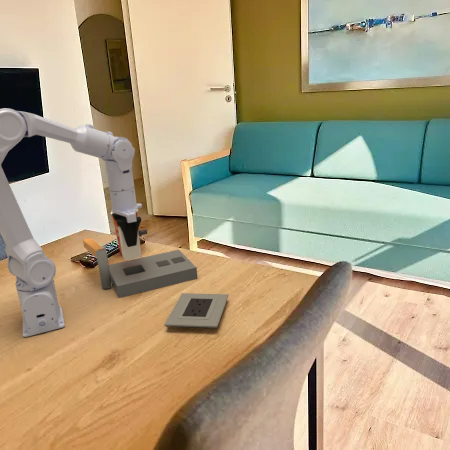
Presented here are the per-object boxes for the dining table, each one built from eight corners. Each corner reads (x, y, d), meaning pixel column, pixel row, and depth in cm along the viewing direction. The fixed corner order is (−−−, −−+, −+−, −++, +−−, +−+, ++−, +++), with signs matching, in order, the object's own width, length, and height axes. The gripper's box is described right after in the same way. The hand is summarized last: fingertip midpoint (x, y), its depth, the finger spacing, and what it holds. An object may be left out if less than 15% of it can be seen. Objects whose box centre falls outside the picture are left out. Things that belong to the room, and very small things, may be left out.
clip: (113, 286, 107) (107, 250, 104) (104, 289, 105) (97, 253, 102) (97, 271, 116) (91, 237, 113) (88, 273, 115) (82, 240, 112)
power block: (197, 278, 109) (196, 266, 108) (118, 297, 101) (116, 285, 100) (180, 259, 121) (178, 249, 120) (108, 275, 114) (106, 264, 113)
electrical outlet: (217, 335, 84) (216, 324, 84) (165, 333, 86) (164, 322, 86) (228, 302, 97) (228, 293, 96) (182, 301, 99) (181, 292, 98)
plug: (151, 255, 107) (147, 226, 105) (125, 260, 105) (121, 231, 103) (147, 249, 111) (143, 221, 108) (122, 255, 108) (117, 226, 106)
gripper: (146, 192, 97) (153, 248, 101) (132, 180, 110) (139, 231, 114) (114, 197, 95) (123, 255, 99) (103, 184, 107) (112, 236, 112)
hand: (129, 243), depth 106 cm, fingers closed on plug, 4 cm apart
